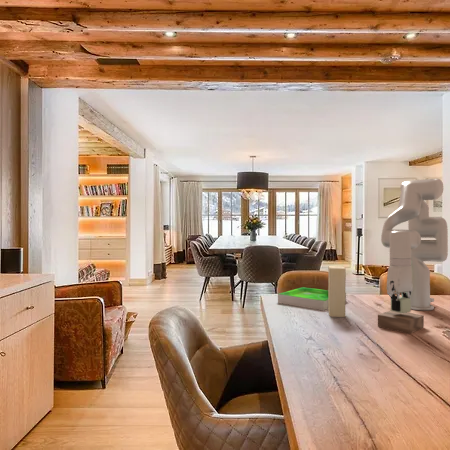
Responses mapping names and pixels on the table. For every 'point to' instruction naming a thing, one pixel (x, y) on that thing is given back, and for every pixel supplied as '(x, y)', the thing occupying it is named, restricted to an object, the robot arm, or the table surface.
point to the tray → (306, 298)
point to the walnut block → (401, 321)
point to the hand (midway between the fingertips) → (400, 309)
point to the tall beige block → (336, 291)
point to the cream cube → (403, 305)
